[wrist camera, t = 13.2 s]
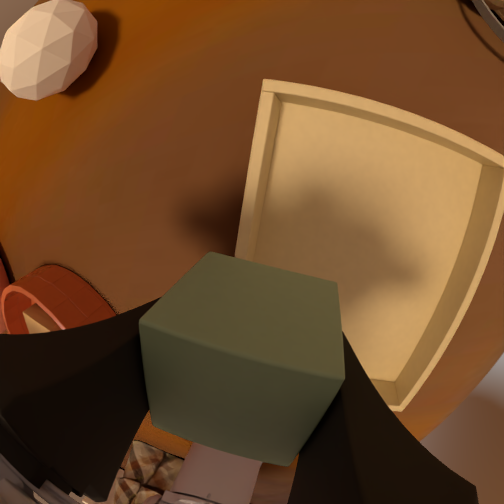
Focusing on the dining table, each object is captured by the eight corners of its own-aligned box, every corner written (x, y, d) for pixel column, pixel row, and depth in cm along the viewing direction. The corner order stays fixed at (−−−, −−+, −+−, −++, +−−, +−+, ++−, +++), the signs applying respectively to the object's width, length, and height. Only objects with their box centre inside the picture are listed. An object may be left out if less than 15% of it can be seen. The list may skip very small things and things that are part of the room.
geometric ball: (108, 39, 16) (94, -32, 8) (104, 100, 15) (75, 14, 7) (32, 68, 14) (3, 9, 6) (16, 136, 13) (-35, 74, 6)
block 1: (88, 341, 23) (61, 367, 19) (60, 325, 24) (34, 347, 20) (80, 305, 22) (49, 330, 18) (52, 291, 22) (22, 311, 18)
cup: (102, 461, 43) (77, 498, 31) (115, 460, 39) (87, 503, 27) (137, 484, 44) (115, 522, 32) (154, 485, 40) (131, 529, 28)
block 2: (303, 375, 10) (288, 468, 6) (199, 347, 11) (151, 426, 7) (338, 281, 9) (347, 378, 5) (209, 249, 9) (137, 319, 5)
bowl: (152, 418, 27) (133, 448, 22) (50, 361, 29) (29, 381, 24) (137, 296, 20) (97, 331, 15) (20, 247, 23) (-13, 263, 18)
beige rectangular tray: (396, 383, 18) (402, 411, 15) (230, 349, 20) (217, 377, 17) (486, 158, 11) (514, 161, 9) (273, 91, 13) (263, 78, 10)
